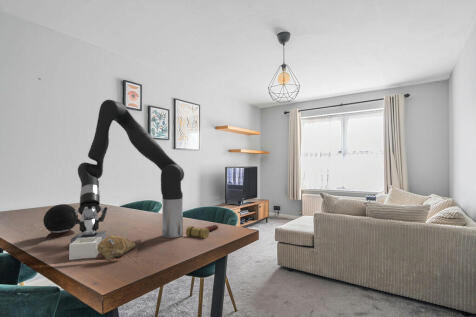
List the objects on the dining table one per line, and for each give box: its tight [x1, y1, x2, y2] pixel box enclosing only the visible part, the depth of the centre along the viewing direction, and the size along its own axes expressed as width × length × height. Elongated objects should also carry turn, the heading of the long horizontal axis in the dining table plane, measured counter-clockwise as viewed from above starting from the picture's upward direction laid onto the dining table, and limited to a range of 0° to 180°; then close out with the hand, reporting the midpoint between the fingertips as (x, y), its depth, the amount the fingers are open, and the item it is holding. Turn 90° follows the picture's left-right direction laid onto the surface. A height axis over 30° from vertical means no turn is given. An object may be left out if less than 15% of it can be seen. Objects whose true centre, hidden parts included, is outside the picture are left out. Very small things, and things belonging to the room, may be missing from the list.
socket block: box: [70, 230, 107, 244], centre depth 103 cm, size 10×10×4 cm
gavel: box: [185, 224, 219, 240], centre depth 123 cm, size 21×5×10 cm
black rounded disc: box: [42, 203, 79, 240], centre depth 117 cm, size 13×13×15 cm
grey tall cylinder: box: [83, 208, 96, 237], centre depth 103 cm, size 4×4×14 cm
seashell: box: [97, 234, 137, 261], centre depth 91 cm, size 14×8×8 cm, turn 163°
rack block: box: [68, 237, 102, 263], centre depth 90 cm, size 8×8×6 cm
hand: (89, 230), depth 101 cm, fingers closed on grey tall cylinder, 4 cm apart
